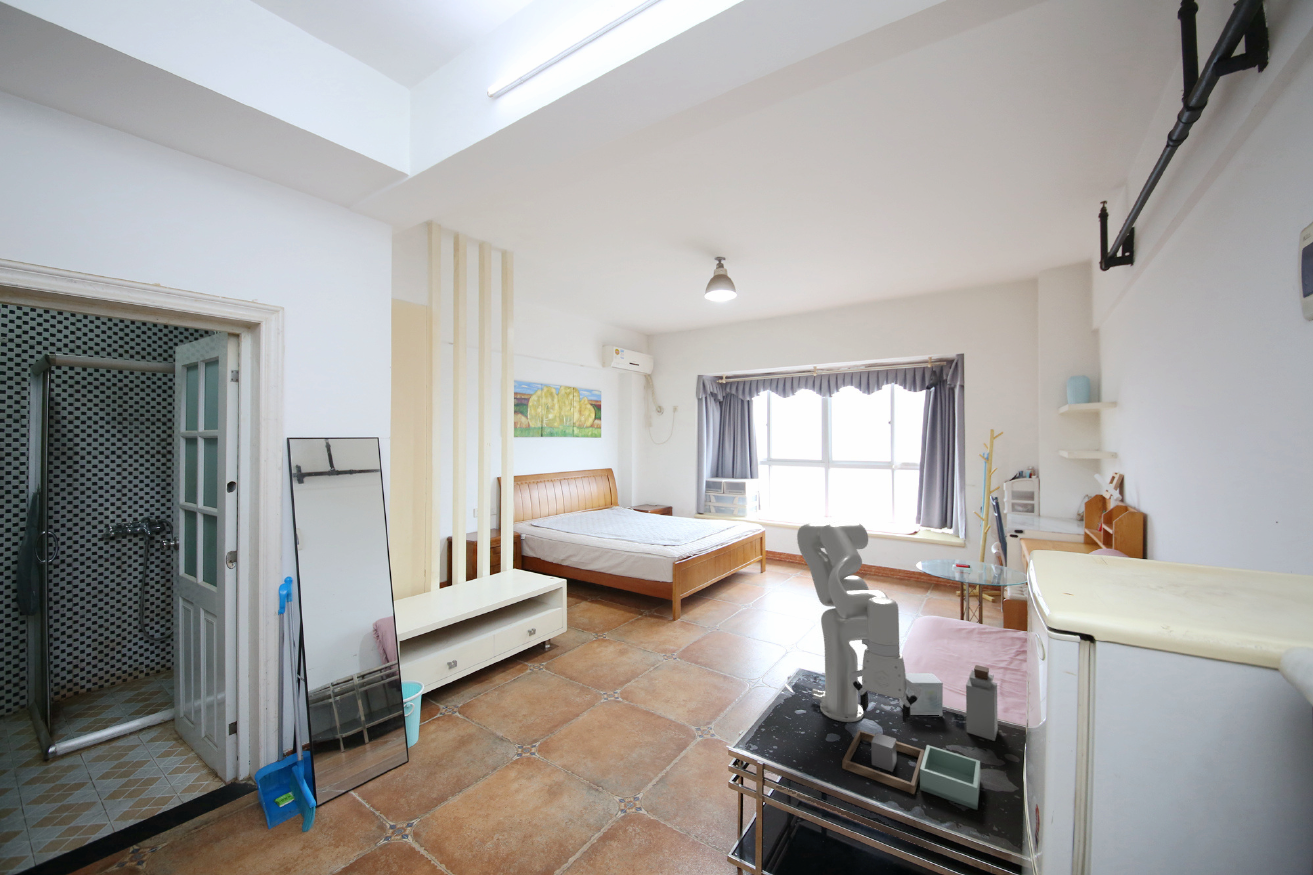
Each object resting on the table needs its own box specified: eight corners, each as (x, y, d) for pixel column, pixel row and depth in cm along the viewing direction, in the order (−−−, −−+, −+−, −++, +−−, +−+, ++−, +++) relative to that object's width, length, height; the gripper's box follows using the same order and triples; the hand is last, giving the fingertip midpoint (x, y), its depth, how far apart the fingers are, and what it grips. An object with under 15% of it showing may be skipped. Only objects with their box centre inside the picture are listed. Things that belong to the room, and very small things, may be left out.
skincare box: (908, 716, 153) (908, 682, 153) (899, 705, 160) (898, 672, 160) (943, 716, 153) (943, 682, 153) (932, 705, 159) (932, 672, 159)
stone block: (871, 764, 131) (871, 741, 131) (876, 754, 135) (875, 732, 135) (892, 772, 128) (892, 748, 128) (896, 761, 132) (896, 738, 132)
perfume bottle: (970, 721, 150) (969, 661, 150) (997, 729, 146) (997, 667, 146) (966, 732, 145) (966, 669, 145) (994, 741, 141) (994, 676, 141)
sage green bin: (920, 789, 122) (920, 768, 122) (927, 763, 131) (927, 744, 131) (977, 809, 115) (977, 787, 115) (980, 781, 124) (980, 760, 124)
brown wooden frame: (842, 768, 130) (842, 760, 130) (858, 736, 143) (858, 729, 143) (914, 794, 120) (914, 785, 120) (924, 757, 134) (924, 750, 134)
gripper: (845, 644, 133) (846, 710, 133) (918, 659, 123) (920, 731, 123) (852, 636, 140) (854, 699, 139) (922, 649, 129) (924, 717, 129)
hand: (885, 714), depth 131 cm, fingers open, 9 cm apart
